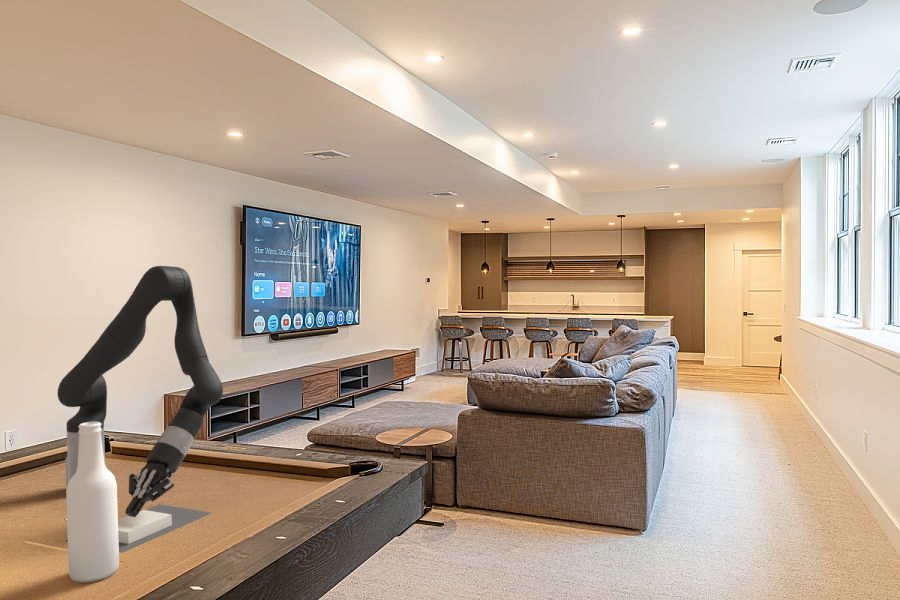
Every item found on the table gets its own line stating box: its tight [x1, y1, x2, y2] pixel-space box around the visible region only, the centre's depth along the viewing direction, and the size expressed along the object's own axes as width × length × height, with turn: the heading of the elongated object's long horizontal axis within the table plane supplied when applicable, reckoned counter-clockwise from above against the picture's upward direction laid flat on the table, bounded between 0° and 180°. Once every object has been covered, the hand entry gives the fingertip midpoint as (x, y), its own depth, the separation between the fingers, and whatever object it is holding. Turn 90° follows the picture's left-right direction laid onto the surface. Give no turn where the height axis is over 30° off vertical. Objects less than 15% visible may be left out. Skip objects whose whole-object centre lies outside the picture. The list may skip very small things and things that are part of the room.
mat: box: [65, 503, 212, 553], centre depth 155 cm, size 18×26×1 cm
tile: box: [118, 509, 172, 544], centre depth 151 cm, size 9×3×12 cm
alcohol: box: [65, 422, 120, 584], centre depth 129 cm, size 9×9×30 cm
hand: (129, 515), depth 149 cm, fingers closed
